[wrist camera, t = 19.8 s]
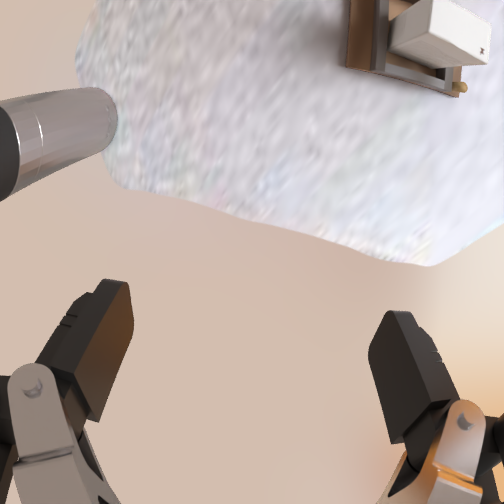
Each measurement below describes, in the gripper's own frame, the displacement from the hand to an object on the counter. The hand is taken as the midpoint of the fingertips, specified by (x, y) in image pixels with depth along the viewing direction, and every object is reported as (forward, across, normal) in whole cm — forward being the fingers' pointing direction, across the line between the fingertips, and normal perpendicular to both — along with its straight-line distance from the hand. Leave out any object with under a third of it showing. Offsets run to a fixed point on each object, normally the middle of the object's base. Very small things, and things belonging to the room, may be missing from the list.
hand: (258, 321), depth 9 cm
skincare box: (+26, +15, +16) cm, 34 cm away
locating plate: (+27, +15, +17) cm, 35 cm away
